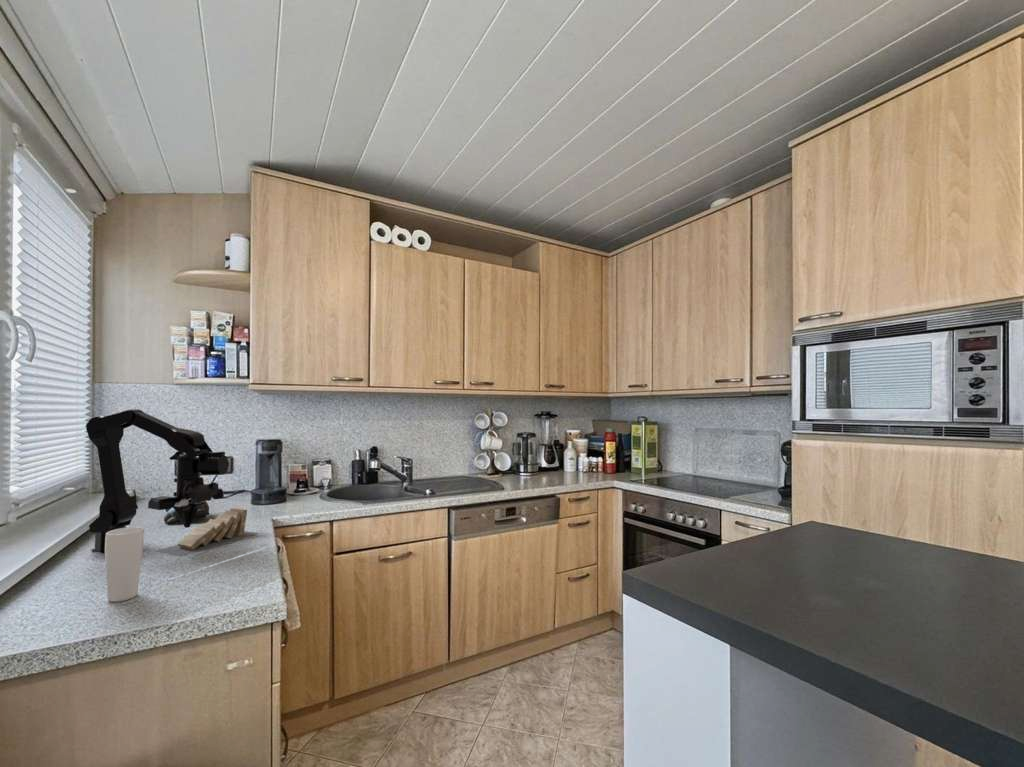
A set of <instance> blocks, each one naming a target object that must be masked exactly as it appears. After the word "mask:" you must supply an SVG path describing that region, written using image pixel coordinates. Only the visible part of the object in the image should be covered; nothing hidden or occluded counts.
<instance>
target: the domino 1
mask: <svg viewBox="0 0 1024 767" xmlns="http://www.w3.org/2000/svg"><path fill="white" fill-rule="evenodd" d="M215 531H216V529H215V527H214V526H209V525H205V524H202V523H201V524H200V525H198V526H197V527H196V528H195V529H193V531H191V532H190V533H189V534H188V535H186V536H185V537H184V538H182V540H180V541H179V542H178V543H177V545H179V547H180V548H184V549H189V550H194V549H195V548H197V547H198V546H199V545H200V544H201V543H202V542H204V541H205V540H206V539H207V538H208V537H209V536H211V535H212V534H213V533H214V532H215Z"/></svg>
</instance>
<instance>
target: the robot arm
mask: <svg viewBox="0 0 1024 767" xmlns="http://www.w3.org/2000/svg"><path fill="white" fill-rule="evenodd" d="M132 426H135V427H136V428H138V429H141V430H143V431H145V432H146V433H147V432H148V433H149V434H152V435H153V436H156V437H159V438H160V439H162V440H164V441H166V442H167V444H168V446H169V447H170V448H172V449H174V450H175V451H176V452H175V453H174V454H173V455H171V456H170V457H169V461H177V463H176V464H177V465H176V467H177V468H176V478H175V477H174V479H173V483H176V491H175V492H173V494H174V496H176V497H172V496H167V495H163V496H157V497H151V498H150V500H149V501H148V502H147V509H150V510H157V511H163V510H165V509H169V508H174V509H175V511H176V512H177V514H178V515H179V517H180V519H181V520H180V522H181V523H182V524H183V527H184V528H185V529H188V528H190V527H191V525H192V522H193V521H194V519H195V518H194V516H195V513H196V512H197V510H198V508H199V507H200V506H202V505H203V504H205V503H206V502H208V501H211V500H212V499H213V500H219V499H224V495H225V493H224V492H225V491H224V490H223V489H222V488H219V483H217V482H210V483H207V484H205V483H204V477H201V475H204V476H205V475H209V476H212V475H213V476H216V475H217V476H218V475H220V476H222V475H223V476H224V475H225V474H226V473H227V472H228V470H229V467H230V461H229V459H228V457H227V455H226V452H225V451H213V450H212V449H211V447H210V446H209V445H208V443H207V442H206V439H205V436H204V434H203V433H201V432H199V431H194V430H191V429H186V428H180V427H176V426H174V425H172V424H170V423H167V422H166V421H163V420H161V419H159V418H157V417H154V416H153V415H150V414H148V413H147V412H144V410H141V409H125V410H123V411H120V412H117V413H113V414H109V415H105V416H94V417H91V418H90V419H89V420H88V422H86V424H85V429H86V432H87V436H88V438H89V441H91V442H92V444H93V445H94V446H95V447H96V448H97V454H98V455H97V456H98V460H99V462H98V463H99V469H100V476H101V480H102V483H101V484H102V488H103V498H102V501H101V503H100V505H99V507H98V508H99V510H98V511H99V513H98V514H99V515H98V517H96V518H95V520H93V521H92V522H91V523H90V524H89V525H88V528H89V531H90V533H91V534H92V533H94V548H91V550H90V551H91V552H94V553H100V554H105V537H106V533H107V532H109V531H111V530H115V529H119V528H126V527H127V526H129V525H130V524H131V523H132V520H133V519H134V517H135V516H136V515H137V509H139V506H138V503H137V496H136V495H130V494H129V493H128V492H127V490H126V483H125V475H124V469H123V464H122V463H123V462H122V456H121V449H120V443H121V441H122V439H123V438H124V437H123V436H124V430H125V429H126V428H130V427H132ZM203 501H206V502H203Z"/></svg>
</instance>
